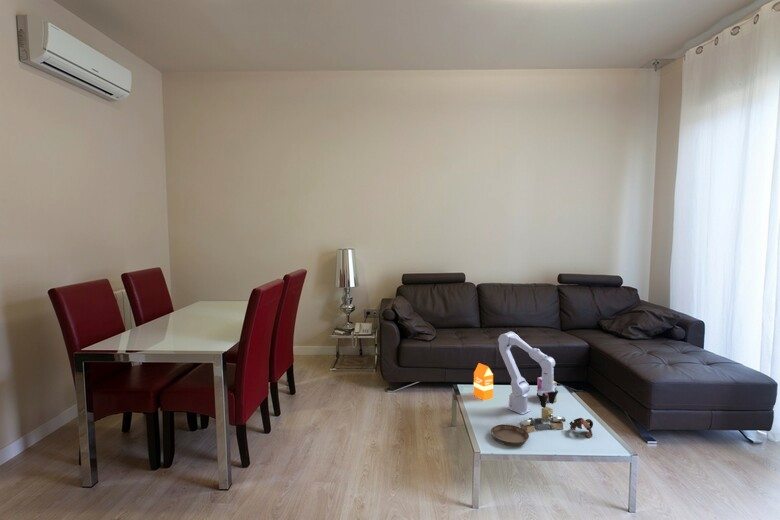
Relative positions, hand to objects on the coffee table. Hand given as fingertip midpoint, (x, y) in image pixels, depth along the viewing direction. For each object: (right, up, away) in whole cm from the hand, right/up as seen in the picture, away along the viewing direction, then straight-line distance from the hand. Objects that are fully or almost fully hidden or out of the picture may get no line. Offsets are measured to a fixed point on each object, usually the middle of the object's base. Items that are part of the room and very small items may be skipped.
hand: (547, 405), depth 205 cm
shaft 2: (+2, -8, -8) cm, 11 cm away
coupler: (0, -8, +1) cm, 8 cm away
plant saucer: (-26, -10, -18) cm, 33 cm away
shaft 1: (-15, -9, -11) cm, 20 cm away
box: (+11, -7, +27) cm, 29 cm away
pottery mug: (+12, -9, -14) cm, 20 cm away
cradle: (-7, -8, -7) cm, 13 cm away
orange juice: (-27, -7, +30) cm, 41 cm away
